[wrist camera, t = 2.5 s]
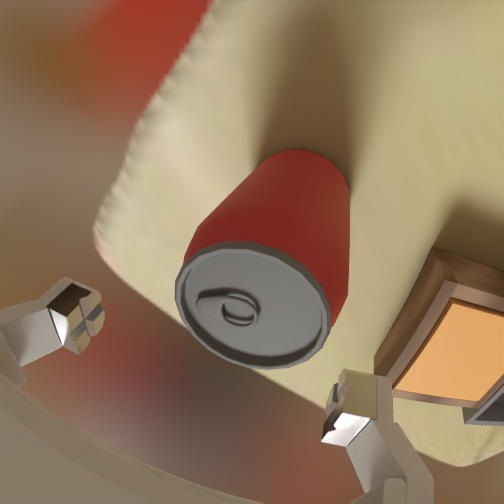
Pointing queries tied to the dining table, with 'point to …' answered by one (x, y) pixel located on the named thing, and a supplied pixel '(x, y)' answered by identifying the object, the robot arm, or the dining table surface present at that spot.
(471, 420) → the tray
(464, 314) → the orange square panel
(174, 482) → the robot arm
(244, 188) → the beer can
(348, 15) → the dining table surface
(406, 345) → the checker stand
